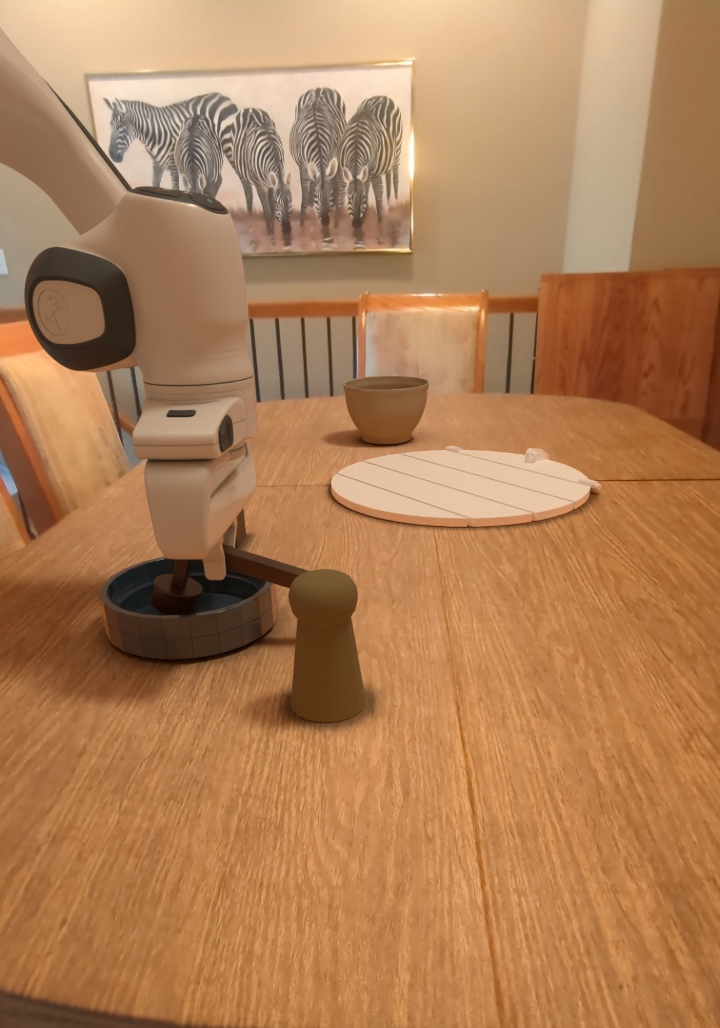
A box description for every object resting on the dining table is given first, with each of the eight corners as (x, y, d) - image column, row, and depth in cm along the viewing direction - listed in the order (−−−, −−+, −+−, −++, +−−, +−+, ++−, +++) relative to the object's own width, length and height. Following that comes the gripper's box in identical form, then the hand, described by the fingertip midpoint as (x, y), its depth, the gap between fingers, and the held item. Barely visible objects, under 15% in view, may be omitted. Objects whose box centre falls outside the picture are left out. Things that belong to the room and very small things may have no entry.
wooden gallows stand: (143, 608, 68) (156, 537, 65) (159, 589, 72) (172, 521, 69) (304, 656, 69) (324, 589, 66) (311, 635, 73) (330, 570, 70)
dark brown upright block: (206, 548, 94) (200, 505, 91) (216, 535, 98) (211, 494, 96) (237, 548, 94) (233, 505, 91) (246, 535, 98) (242, 494, 95)
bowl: (79, 662, 68) (69, 617, 66) (141, 590, 82) (135, 551, 80) (259, 666, 66) (254, 620, 64) (289, 591, 81) (286, 552, 79)
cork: (276, 700, 61) (265, 574, 56) (334, 675, 65) (329, 554, 60) (321, 731, 57) (314, 598, 52) (381, 703, 60) (379, 575, 55)
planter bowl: (328, 440, 147) (325, 382, 143) (387, 428, 157) (387, 373, 152) (385, 453, 137) (384, 391, 132) (445, 439, 146) (446, 380, 141)
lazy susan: (466, 445, 141) (467, 426, 140) (648, 488, 113) (652, 466, 111) (283, 483, 120) (282, 461, 119) (449, 547, 92) (450, 520, 90)
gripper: (200, 394, 72) (216, 533, 78) (122, 441, 54) (151, 617, 60) (265, 393, 71) (276, 533, 77) (209, 441, 53) (229, 618, 59)
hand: (221, 571), depth 68 cm, fingers closed on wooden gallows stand
